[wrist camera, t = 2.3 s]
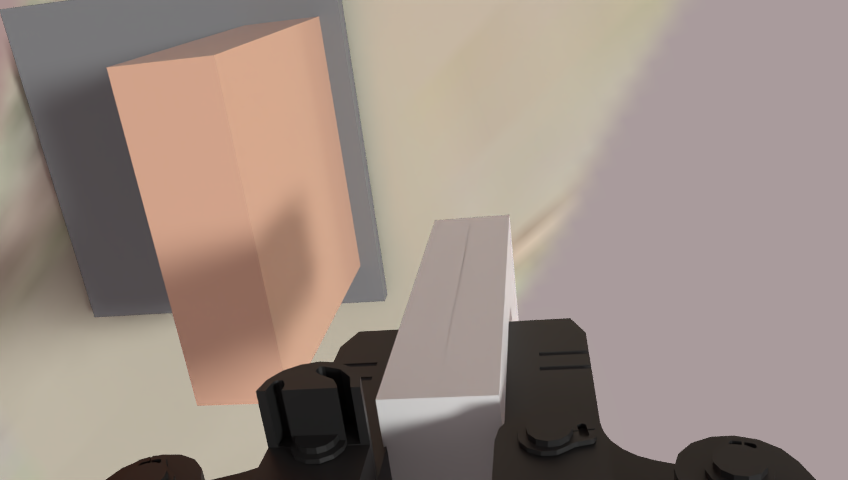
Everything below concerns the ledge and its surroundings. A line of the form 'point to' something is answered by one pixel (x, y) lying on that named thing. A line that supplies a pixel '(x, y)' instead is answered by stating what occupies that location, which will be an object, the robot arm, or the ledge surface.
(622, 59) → the ledge surface
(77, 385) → the ledge surface
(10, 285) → the ledge surface
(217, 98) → the block
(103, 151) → the mat
